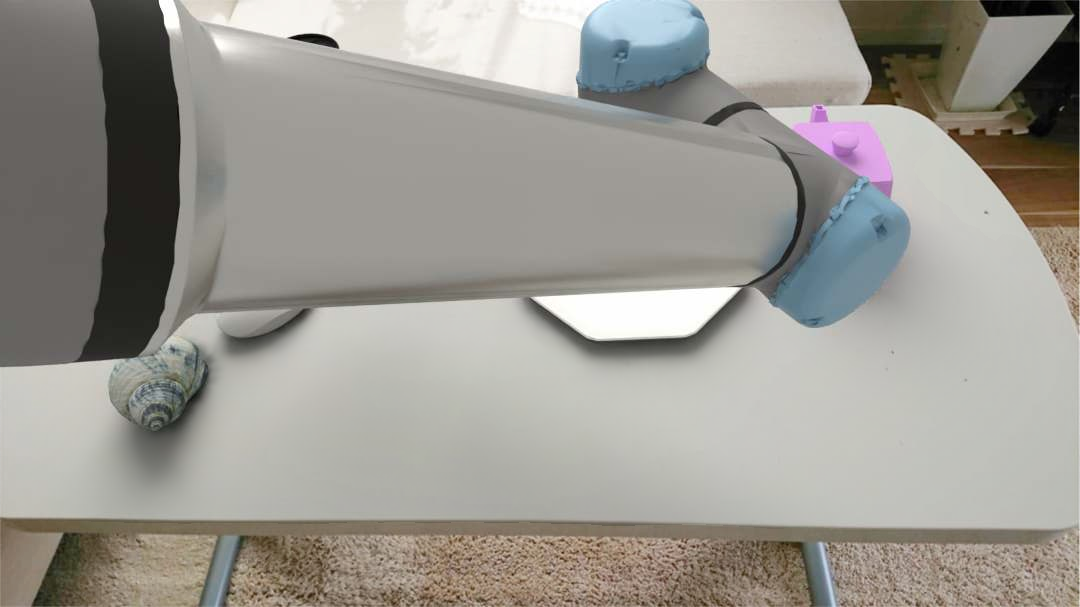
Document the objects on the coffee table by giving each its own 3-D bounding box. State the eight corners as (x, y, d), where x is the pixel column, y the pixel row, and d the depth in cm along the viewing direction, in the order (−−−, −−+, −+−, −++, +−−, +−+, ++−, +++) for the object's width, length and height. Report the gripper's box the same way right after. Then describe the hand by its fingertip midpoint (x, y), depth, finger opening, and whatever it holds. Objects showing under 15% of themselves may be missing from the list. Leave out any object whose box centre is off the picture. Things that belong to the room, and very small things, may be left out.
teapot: (760, 157, 90) (777, 85, 82) (849, 155, 90) (875, 82, 82) (788, 268, 79) (810, 197, 71) (890, 267, 79) (924, 194, 71)
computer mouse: (323, 302, 79) (315, 284, 77) (239, 355, 76) (228, 338, 73) (295, 272, 82) (286, 254, 80) (213, 322, 78) (201, 304, 76)
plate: (521, 352, 74) (519, 343, 73) (521, 190, 89) (520, 180, 88) (761, 342, 73) (764, 333, 72) (720, 180, 88) (722, 170, 87)
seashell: (220, 357, 77) (169, 461, 70) (146, 334, 76) (85, 438, 68) (223, 324, 73) (169, 432, 65) (144, 299, 71) (79, 406, 64)
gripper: (458, 297, 55) (219, 212, 62) (566, 145, 66) (350, 87, 73) (443, 225, 49) (181, 140, 57) (563, 70, 60) (329, 15, 67)
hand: (276, 110), depth 65 cm, fingers closed on beverage can, 6 cm apart
